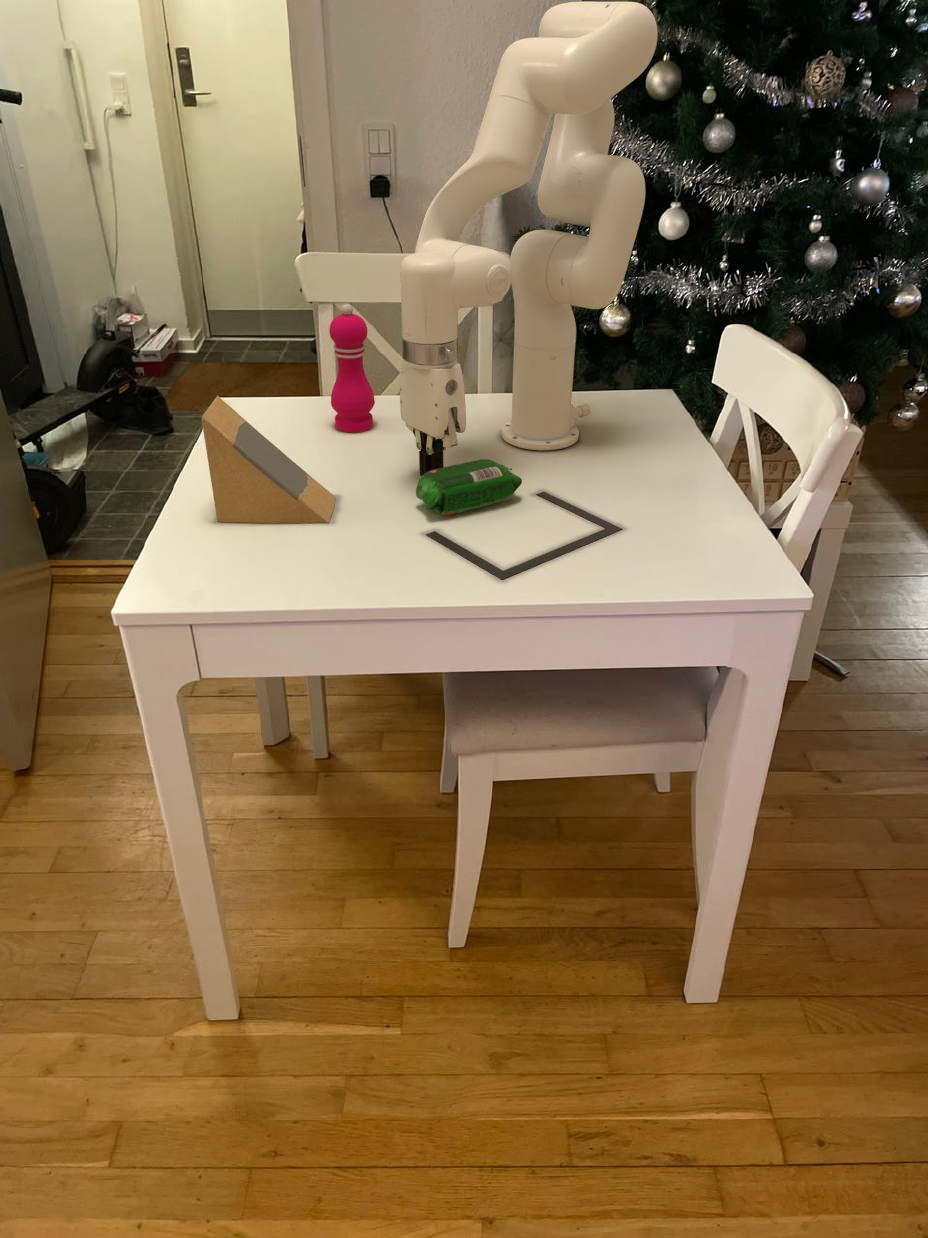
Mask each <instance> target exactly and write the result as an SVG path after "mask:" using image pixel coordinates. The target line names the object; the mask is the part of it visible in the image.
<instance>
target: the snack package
mask: <svg viewBox="0 0 928 1238" xmlns="http://www.w3.org/2000/svg"><path fill="white" fill-rule="evenodd" d="M512 471H513V468H512V467H511V468H508V467H507V466H505V465H504V464H501V463H499V462H497V461H495V460H492V459H489V458H487V459H486V458H482V459H476V460H471V461H466V462H462V463H456V464H452V465H448V466H443V468H438V469H434V470H431V471H428V472H426V473H425V474H423V475H422V476H420V478H419V479H418V481H417V485H416V488H415V496H416V498H417V499H419V500H421V501H422V502H423V503H424V505H425V508H426V509H427V510H429V511H434V512H435V513H436V514H438V515H440V516H441V515H442V516H452V515H456V514H461V513H464V512H467V511H471V510H476V509H480V508H483V507H488V506H492V505H494V504H498V503H502V502H505V501H507V500H508V499H509V498H511V497H512V496H513V495H514V493H515V492H516V491H517V490H518V488H519V487H521V485H522V484H523V479H522V478H521V476H519V475H517V474H515V473H513V472H512Z"/></svg>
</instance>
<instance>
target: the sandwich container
mask: <svg viewBox="0 0 928 1238" xmlns="http://www.w3.org/2000/svg"><path fill="white" fill-rule="evenodd" d="M208 406H209V407H207V409H206V410H205V412H204V413H203V414H202V416H201V424H202V425H201V426H202V431H203V437H204V443H205V451H206V457H207V463H208V464H207V465H208V469H209V478H210V483H211V490H212V494H213V501H214V508H215V509H214V510H215V515H216V521H217V522H218V523H247V524H321V523H322V524H329V523H330V520H331V518H332V515H333V514H334V510H335V504H336V499H337V498H336V496H335V495H334V494H333V493H332V492H330V491H329V490H328V489H327V488H326V487H324V486H323V485H322V484H321V483H320V482H318V480H316V479H315V478H314V477H313V476H312V475H310V474H309V473H308V472H306V471H305V470H304V469H303V468H302V467H300V466H299V464H297V463H296V462H295V461H293V460H292V459H291V458H290V457H289V456H287V455H286V454H285V453H284V451H282V450H280V448H278V447H277V446H276V445H275V444H274V443H272V442H271V441H270V440H269V439H268V438H267V437H266V436H265V435H263V434H262V433H260V431H258V430H257V429H256V428H255V427H254V426H253V425H252V424H251V423H249V422H248V421H247V420H246V419H245V418H244V417H243V416H242V415H240V413H238V412H237V411H236V410H235V409H234V408H232V406H230V405H229V404H228V403H227V402H226V401H225V400H223V398H221V397H220V396H219V395H216V397H215V398H214V399H213V401H212V402H211V404H210V405H208Z"/></svg>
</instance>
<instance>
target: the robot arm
mask: <svg viewBox="0 0 928 1238" xmlns="http://www.w3.org/2000/svg"><path fill="white" fill-rule="evenodd" d="M537 36H538V37H526V38H521V39H517V40H516V41H514V42H513V43H511V44H510V45H508V47H507V48H506V49H505V51H504V53H503V54H502V56H501V59H500V61H499V64H498V67H497V71H496V75H495V78H494V81H493V84H492V87H491V90H490V94H489V97H488V101H487V104H486V107H485V111H484V114H483V117H482V120H481V124H480V127H479V131H478V133H477V137H476V141H475V144H474V148H473V150H472V153H471V155H470V156H469V158H468V159H467V161H466V162H465V163H464V164H462V165H461V166H460V167H459V168H458V169H457V170H456V171H455V172H454V174H453V175H452V176H451V177H450V178H449V179H448V180H447V181H446V182H445V184H444V185H443V187H442V188H441V189H440V190H439V191H438V192H437V194H436V195H435V196H434V197H433V199H432V201H431V202H430V204H429V206H428V208H427V210H426V213H425V215H424V218H423V221H422V224H421V228H420V231H419V233H418V237H417V242H416V244H415V249H414V253H411V254H409V255H406V256H405V257H404V258H403V259H402V261H401V264H400V269H399V270H400V271H399V272H400V300H401V301H400V305H401V307H400V308H401V309H400V311H401V343H402V344H401V346H402V347H401V348H402V350H401V351H402V359H401V368H400V379H399V410H400V416H401V420H402V421H403V422H404V423H405V427H406V429H408V430H410V431H411V432H412V433H413V436H414V437H415V445H416V449H417V450H419V451H418V461H419V462H418V463H419V465H418V466H419V467H418V468H419V470H418V471H419V476H420V477H421V476H422V475H423V474H425V473H426V472H428V471H431V470H434V469H438V468H443V467H444V451H446V450H447V449H450V448H454V447H458V445H459V443H458V436H457V433H459V434H462V433H465V432H466V428H467V406H466V405H467V404H466V391H465V382H464V377H463V371H462V367H461V364H460V363H459V362H458V360H459V358H458V355H459V354H458V353H459V352H458V351H459V350H458V349H459V346H458V345H459V343H458V341H459V336H458V335H459V310H461V309H466V308H467V309H468V308H485V307H489V306H493V305H495V304H497V303H499V301H501V300H502V299H503V298H504V297H505V296H506V295H507V293H508V292H509V290H510V288H511V290H512V296H513V309H514V330H513V331H514V335H513V340H514V341H513V360H512V361H513V364H512V390H511V392H512V393H511V395H512V396H511V420H509V421H508V422H506V423H504V424H503V425H502V427H501V438H502V439H503V440H504V441H505V442H506V443H508V444H509V445H511V446H514V447H516V448H520V449H525V450H530V451H554V450H561V449H565V448H568V447H571V446H573V445H574V444H576V443H577V441H578V440H579V437H580V430H579V429H578V427H577V426H576V425H575V422H576V421H577V420H578V418H579V419H580V418H584V417H587V416H589V415H590V413H591V407H590V405H589V404H588V403H583V404H581V405H577V406H574V405H573V404H572V396H573V383H574V370H575V352H576V341H577V324H576V319H575V315H574V312H573V311H574V310H573V309H572V307H571V306H574V307H579V308H584V309H589V310H600V309H605V308H606V307H608V306H609V305H611V304H612V303H613V302H614V301H615V299H616V297H617V296H618V294H619V292H620V290H621V287H622V286H623V283H624V279H625V276H626V274H627V273H626V272H627V269H628V266H629V263H630V259H631V256H632V252H633V248H634V244H635V241H636V238H637V234H638V231H639V227H640V224H641V220H642V215H643V211H644V207H645V202H646V181H645V177H644V173H643V171H642V168H641V167H640V165H639V164H638V163H637V162H636V161H634V160H633V159H632V158H628V157H625V156H621V155H615V154H614V155H613V154H611V155H610V154H609V150H610V146H611V145H610V144H611V141H612V135H613V131H614V127H615V118H616V117H615V109H614V104H613V101H612V98H613V97H615V95H617V94H618V93H619V92H620V91H622V90H624V89H625V88H626V87H627V86H629V85H630V84H631V83H632V82H634V81H635V80H636V79H638V78H639V76H641V74H643V72H645V70H646V69H647V67H648V66H649V64H650V63H651V61H652V59H653V57H654V54H655V52H656V49H657V45H658V44H657V43H658V26H657V21H656V18H655V16H654V14H653V13H652V11H651V10H650V9H649V8H648V7H647V6H646V5H644V4H643V3H641V2H636V1H570V2H569V1H568V2H564V3H559V4H557V5H554V6H552V7H550V8H549V9H547V11H546V12H545V13H544V14H543V16H542V17H541V20H540V23H539V28H538V35H537ZM553 115H554V120H553V125H552V130H551V134H550V138H549V141H548V142H549V143H548V146H547V151H546V154H545V157H544V162H543V167H542V171H541V175H540V179H539V184H538V189H537V206H538V208H539V211H540V212H541V214H543V215H544V216H545V217H547V218H548V219H550V220H553V221H556V222H560V223H565V224H569V225H570V224H571V225H574V226H580V227H581V226H582V227H588V228H589V234H588V236H586V235H580V234H575V233H571V232H565V231H559V230H553V229H534V230H532V231H528V232H526V233H525V234H523V235H521V237H519V238H518V239H517V241H516V242H515V244H514V245H513V247H512V250H511V253H510V257H509V260H508V259H507V258H506V256H504V254H502V253H501V252H499V251H498V250H495V249H492V248H489V247H485V246H480V245H475V244H471V243H465V242H461V241H460V238H461V235H462V232H463V231H464V228H465V226H466V225H467V223H468V222H469V220H470V218H472V217H473V215H474V214H475V213H476V212H477V211H478V210H479V209H481V207H482V206H484V205H486V204H487V203H489V202H491V201H492V200H495V199H496V198H499V197H501V196H503V195H504V194H508V193H509V192H511V191H514V190H516V189H518V188H520V187H522V186H524V185H525V184H527V183H528V182H529V181H531V180H532V177H533V176H534V173H535V169H536V166H537V163H538V159H539V156H540V153H541V149H542V146H543V144H544V141H545V138H546V137H545V136H546V134H547V131H548V127H549V124H550V122H551V119H552V116H553Z"/></svg>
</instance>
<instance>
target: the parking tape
mask: <svg viewBox="0 0 928 1238" xmlns="http://www.w3.org/2000/svg"><path fill="white" fill-rule="evenodd" d="M536 496H538V497H540V498H541V499H544V500H546V501H548V502H551V503H552V504H554V505H556V506H559V507H561V508H563V509H565V510H567V511H569V512H570V513H573V514H575V515H577V516H580V517H581V518H583V519H586V520H587V521H590V522H592V523H594V524H596V525H598V526H600V527H602V528H603V529H600V530H598V531H596V532H593V533H590V534H589V535H586V536H584V537H582V538H579V539H577V540H575V541H572V542H570V543H567V544H564V545H563V546H559V547H557V548H555V549H552V550H549V551H548V552H545V553H542V554H540V555H538V556H536V557H533V558H531V559H528V560H525V561H523V562H521V563H518V564H515V565H514V566H511V567H509V568H506V569H504V570H503V569H501V568H499V566H496V565H494V564H492V563H491V562H490V561H487V560H486V559H484V558H482V557H481V556H479V555H477V554H475V553H473V552H472V551H471V550H468V549H466V548H465V547H463V546H462V545H460V544H458V543H456V542H454V541H453V540H452V539H449V538H448V537H446V536H444V535H442V534H441V533H439V532H437V531H435V530H433V531H431V532H428V533H425V536H426V537H428V538H430V539H432V540H434V541H435V542H437V543H439V544H440V545H442V546H443V547H446V548H447V549H449V550H451V551H452V552H454V553H456V554H458V555H459V556H460V557H463V558H464V559H466V560H468V561H469V562H471V563H472V564H474V565H476V566H478V567H480V568H481V569H483V571H486V572H488V573H489V574H491V575H493V576H495V577H496V578H498V579H500V580H501V581H503V580H506V579H508V578H510V577H513V576H515V575H517V574H521V573H522V572H524V571H527V570H530V569H532V568H534V567H537V566H539V565H541V564H543V563H546V562H548V561H552V560H553V559H555V558H558V557H561V556H563V555H565V554H567V553H570V552H572V551H575V550H577V549H580V548H582V547H584V546H586V545H589V544H591V543H593V542H594V543H595V542H596V541H599V540H600V539H603V538H606V537H608V536H610V535H613V534H616V533H617V532H620V531H622V530H623V528H622V527H619V526H618V525H616V524H613V523H611V522H610V521H607V520H606V519H603V518H601V517H599V516H597V515H594V514H593V513H591V512H589V511H586V510H584V509H582V508H580V507H578V506H575V505H573V504H571V503H570V502H568V501H566V500H563V499H561V498H559V497H556V496H554V495H553V494H551V493H548V492H546V491H541V492H538V493H536Z"/></svg>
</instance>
